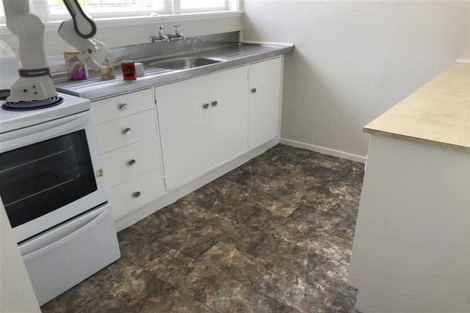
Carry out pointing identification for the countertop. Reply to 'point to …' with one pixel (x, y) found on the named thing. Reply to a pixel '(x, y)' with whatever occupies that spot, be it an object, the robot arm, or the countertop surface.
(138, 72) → the grey plastic block
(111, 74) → the birch block
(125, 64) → the canned food
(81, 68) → the candy bar box
